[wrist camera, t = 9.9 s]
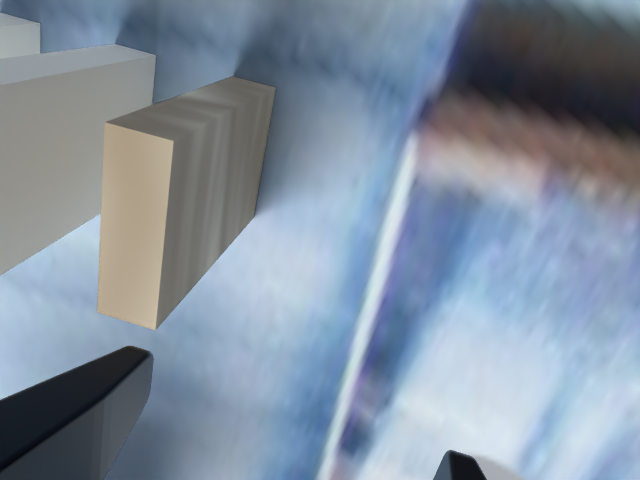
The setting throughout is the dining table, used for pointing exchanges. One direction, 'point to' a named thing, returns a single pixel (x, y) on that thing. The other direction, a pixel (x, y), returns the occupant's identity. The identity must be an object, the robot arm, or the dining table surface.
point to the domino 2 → (177, 193)
